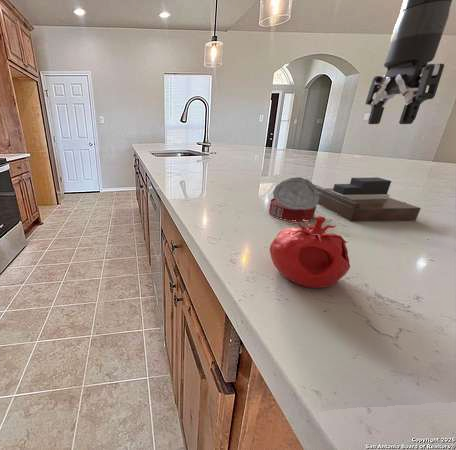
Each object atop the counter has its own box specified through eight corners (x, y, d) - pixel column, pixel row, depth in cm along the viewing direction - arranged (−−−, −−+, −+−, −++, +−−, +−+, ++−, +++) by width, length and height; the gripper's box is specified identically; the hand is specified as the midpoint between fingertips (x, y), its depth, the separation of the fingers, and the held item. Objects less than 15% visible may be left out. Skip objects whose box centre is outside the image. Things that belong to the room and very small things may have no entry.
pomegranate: (254, 262, 40) (262, 209, 37) (305, 254, 42) (318, 203, 39) (299, 301, 31) (316, 236, 28) (362, 289, 33) (385, 226, 30)
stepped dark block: (373, 194, 64) (378, 177, 62) (388, 199, 59) (394, 181, 58) (330, 194, 64) (334, 178, 62) (341, 200, 60) (346, 181, 58)
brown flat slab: (357, 197, 71) (361, 183, 69) (415, 220, 54) (423, 202, 53) (308, 198, 72) (311, 184, 70) (350, 221, 55) (356, 203, 53)
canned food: (307, 230, 62) (338, 201, 55) (284, 236, 57) (316, 204, 50) (276, 201, 68) (301, 171, 61) (253, 204, 63) (277, 172, 56)
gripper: (477, 22, 42) (437, 123, 48) (403, 46, 55) (380, 123, 61) (431, 24, 42) (398, 124, 49) (369, 48, 56) (349, 124, 62)
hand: (388, 124), depth 55 cm, fingers open, 8 cm apart
